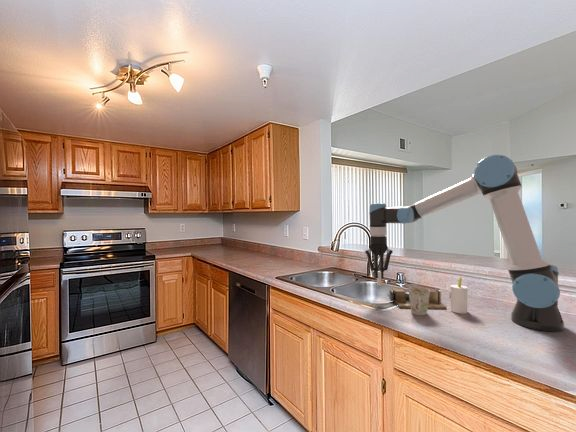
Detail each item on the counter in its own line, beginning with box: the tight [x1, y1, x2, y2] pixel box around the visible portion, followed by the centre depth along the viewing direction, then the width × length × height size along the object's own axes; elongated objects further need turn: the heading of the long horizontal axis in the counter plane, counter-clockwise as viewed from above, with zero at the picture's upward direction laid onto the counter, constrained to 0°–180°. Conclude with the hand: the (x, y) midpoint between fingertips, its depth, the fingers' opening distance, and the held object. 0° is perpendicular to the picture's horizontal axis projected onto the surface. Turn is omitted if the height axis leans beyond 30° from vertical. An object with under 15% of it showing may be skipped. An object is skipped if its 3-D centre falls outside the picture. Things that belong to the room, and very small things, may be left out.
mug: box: [407, 286, 430, 316], centre depth 119 cm, size 8×13×10 cm, turn 161°
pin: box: [388, 290, 409, 302], centre depth 136 cm, size 5×21×5 cm, turn 86°
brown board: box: [386, 288, 447, 310], centre depth 136 cm, size 20×21×5 cm
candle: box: [449, 276, 468, 315], centre depth 123 cm, size 6×6×15 cm
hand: (379, 284), depth 137 cm, fingers closed
